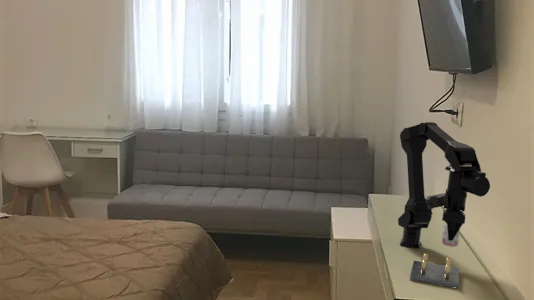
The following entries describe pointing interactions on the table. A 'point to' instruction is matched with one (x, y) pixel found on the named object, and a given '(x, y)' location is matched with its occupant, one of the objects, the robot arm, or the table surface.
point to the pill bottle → (447, 242)
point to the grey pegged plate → (435, 273)
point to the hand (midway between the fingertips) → (450, 238)
